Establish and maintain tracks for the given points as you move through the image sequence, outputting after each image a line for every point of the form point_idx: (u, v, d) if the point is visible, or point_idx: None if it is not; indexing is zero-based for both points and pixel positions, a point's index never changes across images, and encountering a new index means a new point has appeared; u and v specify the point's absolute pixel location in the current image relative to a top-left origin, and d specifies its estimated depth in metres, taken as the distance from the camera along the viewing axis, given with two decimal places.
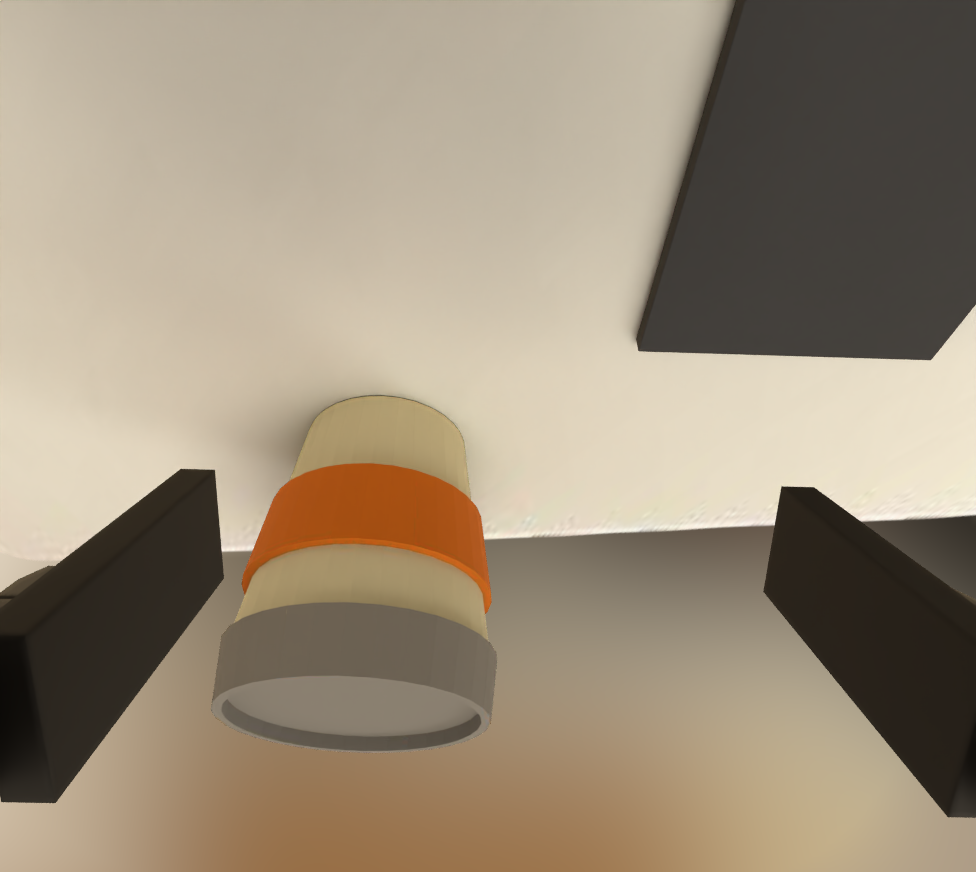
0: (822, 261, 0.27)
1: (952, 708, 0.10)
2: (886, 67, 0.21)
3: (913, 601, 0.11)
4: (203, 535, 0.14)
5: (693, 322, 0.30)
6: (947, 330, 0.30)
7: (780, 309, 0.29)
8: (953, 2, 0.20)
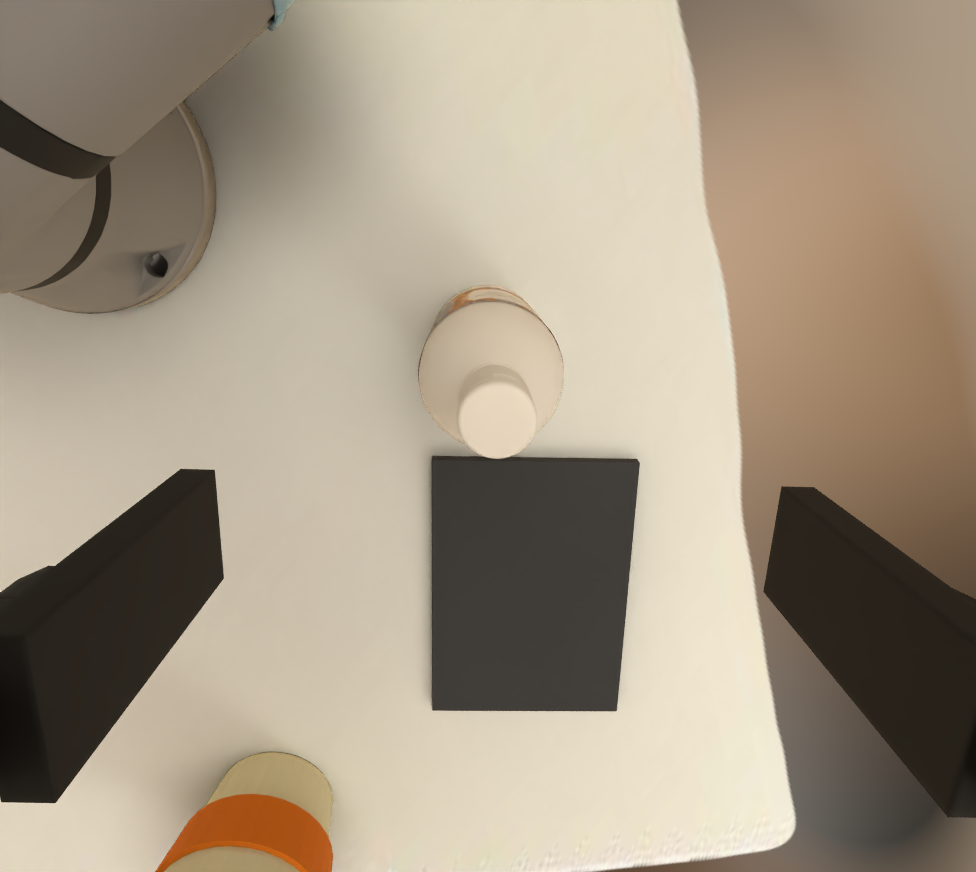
0: (519, 649, 0.49)
1: (952, 708, 0.10)
2: (505, 557, 0.46)
3: (913, 601, 0.11)
4: (203, 535, 0.14)
5: (460, 689, 0.49)
6: (613, 690, 0.50)
7: (508, 679, 0.49)
8: (521, 533, 0.46)
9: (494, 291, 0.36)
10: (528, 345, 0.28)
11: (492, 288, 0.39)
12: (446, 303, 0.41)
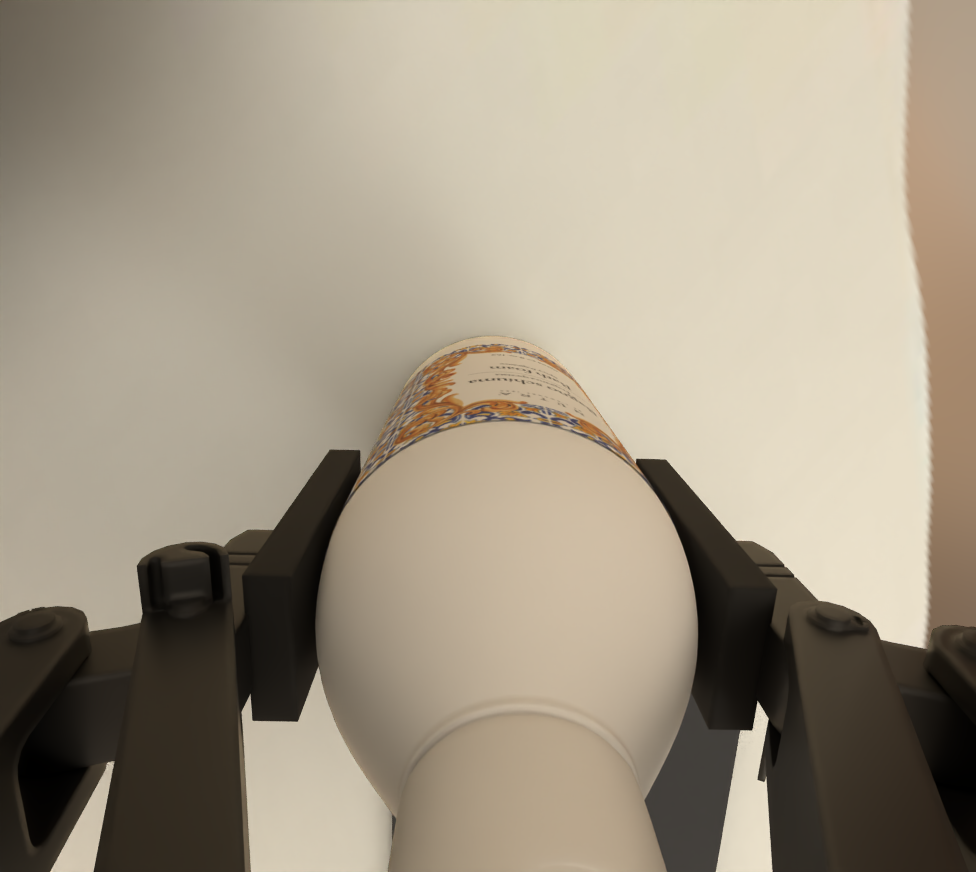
0: None
1: (712, 636, 0.11)
2: None
3: (696, 548, 0.12)
4: None
5: None
6: None
7: None
8: None
9: (510, 362, 0.17)
10: (625, 592, 0.09)
11: (505, 349, 0.19)
12: (417, 369, 0.22)
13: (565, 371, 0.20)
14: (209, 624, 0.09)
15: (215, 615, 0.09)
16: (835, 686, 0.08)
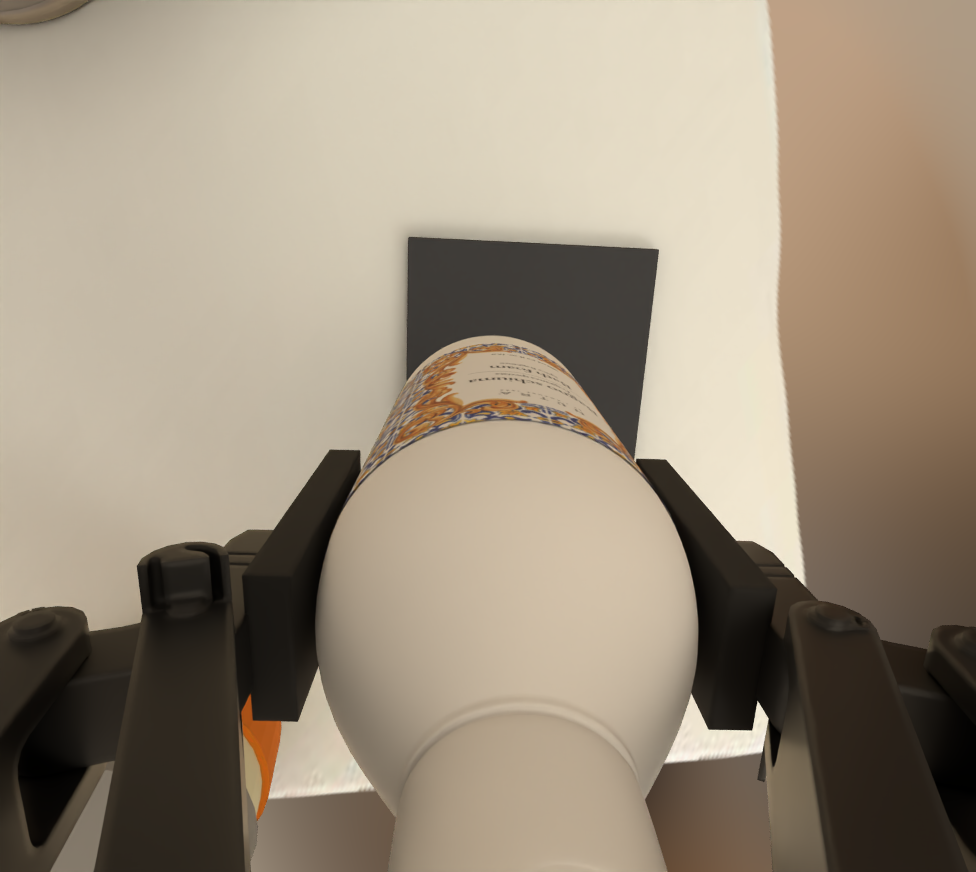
0: None
1: (712, 636, 0.11)
2: None
3: (696, 548, 0.12)
4: None
5: None
6: None
7: None
8: (514, 337, 0.38)
9: (510, 361, 0.17)
10: (625, 591, 0.09)
11: (505, 348, 0.19)
12: (417, 369, 0.22)
13: (565, 370, 0.20)
14: (209, 624, 0.09)
15: (215, 615, 0.09)
16: (835, 686, 0.08)
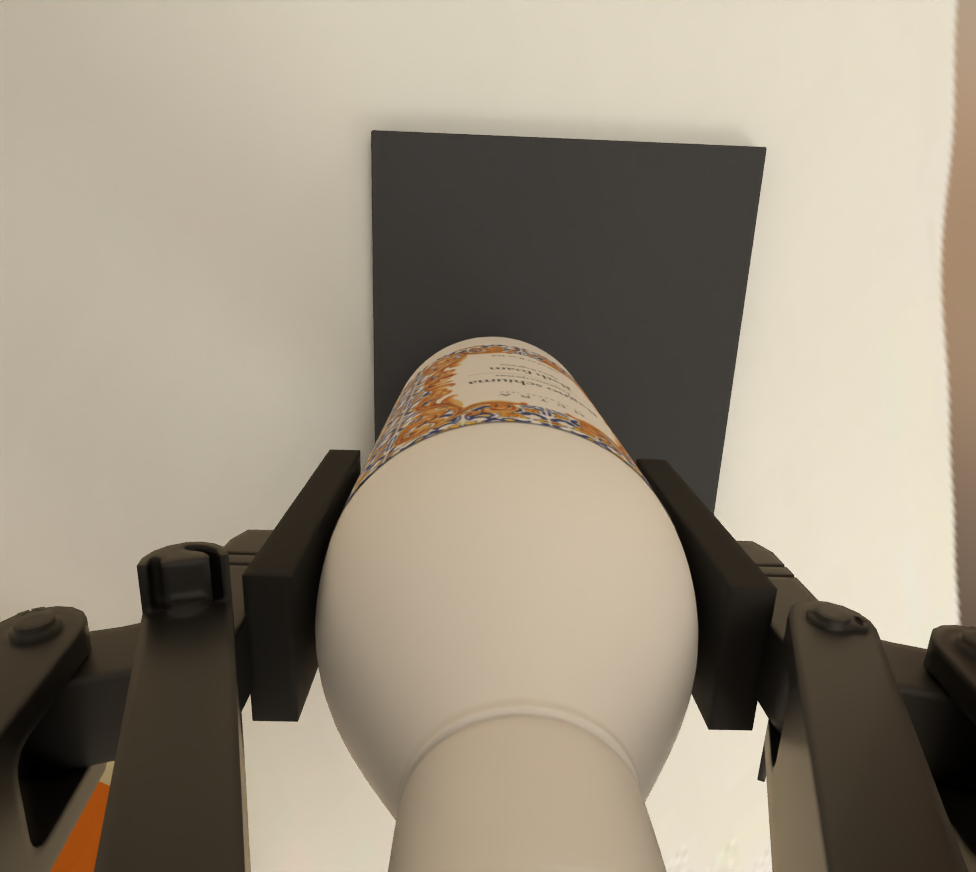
0: None
1: (712, 635, 0.11)
2: None
3: (696, 548, 0.12)
4: None
5: None
6: None
7: None
8: (538, 290, 0.25)
9: (510, 363, 0.17)
10: (625, 594, 0.09)
11: (505, 349, 0.19)
12: (417, 370, 0.22)
13: (565, 372, 0.20)
14: (209, 624, 0.09)
15: (215, 615, 0.09)
16: (835, 686, 0.08)
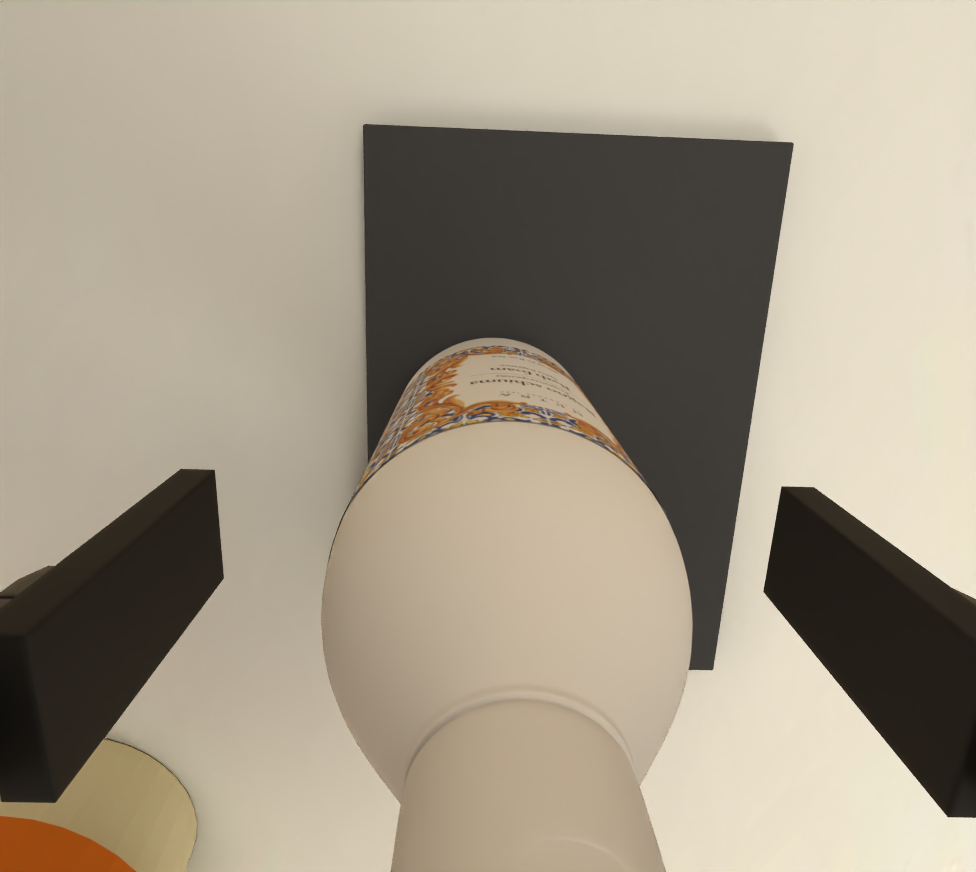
0: None
1: (952, 708, 0.10)
2: None
3: (913, 601, 0.11)
4: (203, 535, 0.14)
5: None
6: (710, 629, 0.27)
7: None
8: (545, 298, 0.23)
9: (510, 363, 0.18)
10: (621, 586, 0.09)
11: (505, 350, 0.20)
12: (419, 371, 0.22)
13: (564, 372, 0.21)
14: None
15: None
16: None
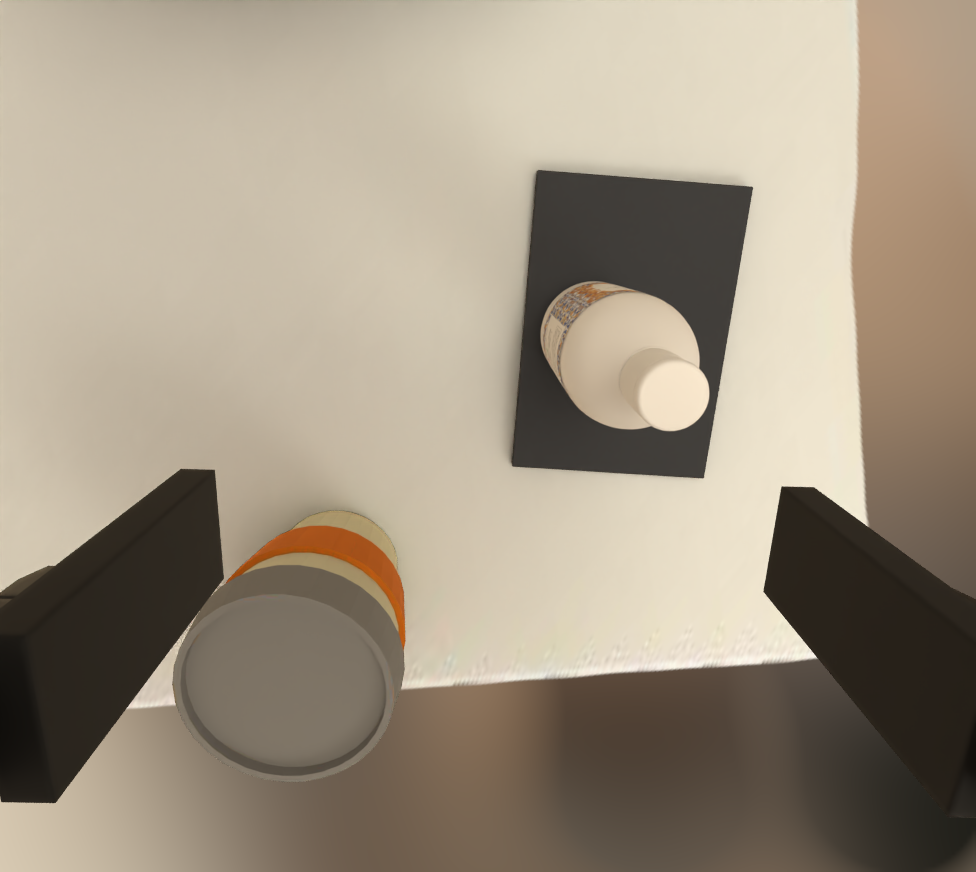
0: None
1: (952, 708, 0.10)
2: None
3: (913, 601, 0.11)
4: (203, 535, 0.14)
5: (543, 443, 0.47)
6: (703, 453, 0.48)
7: (594, 434, 0.47)
8: (623, 262, 0.44)
9: None
10: (679, 332, 0.30)
11: (609, 283, 0.41)
12: (559, 296, 0.43)
13: None
14: None
15: None
16: None
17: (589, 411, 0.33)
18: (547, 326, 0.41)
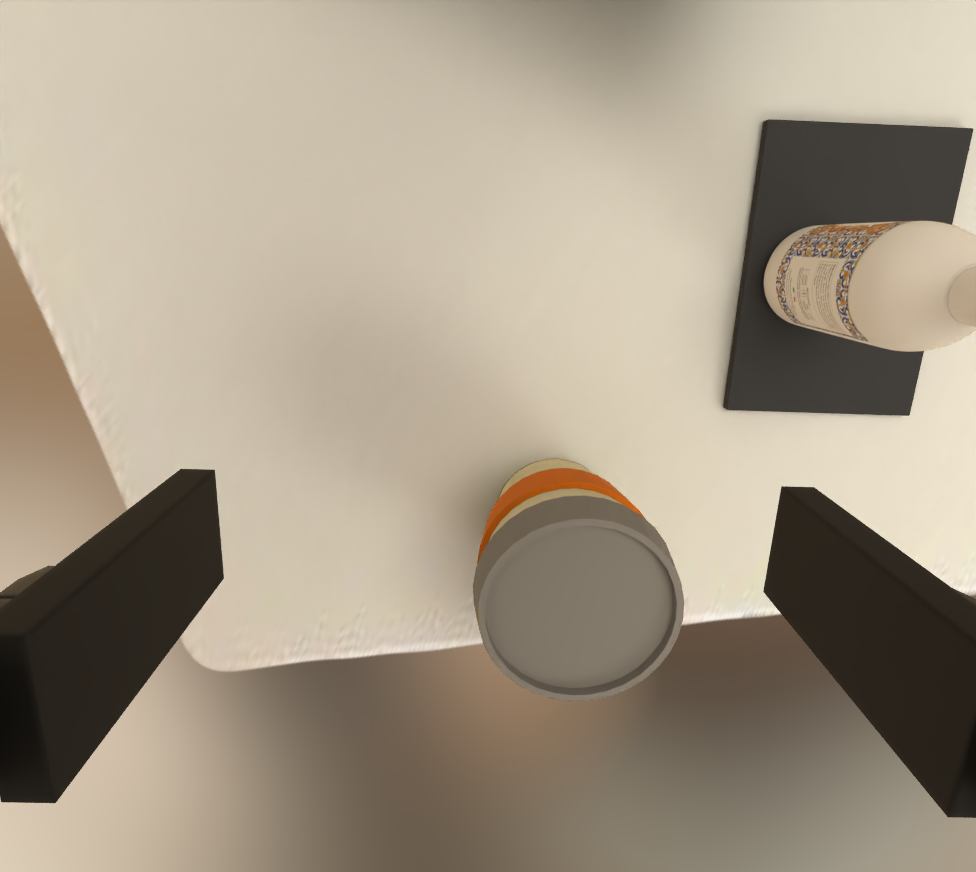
0: (823, 341, 0.48)
1: (952, 708, 0.10)
2: None
3: (913, 601, 0.11)
4: (203, 535, 0.14)
5: (758, 385, 0.49)
6: (910, 391, 0.50)
7: (807, 375, 0.49)
8: (844, 206, 0.46)
9: None
10: None
11: None
12: (787, 240, 0.45)
13: None
14: None
15: None
16: None
17: (888, 333, 0.35)
18: (789, 267, 0.43)
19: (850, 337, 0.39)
